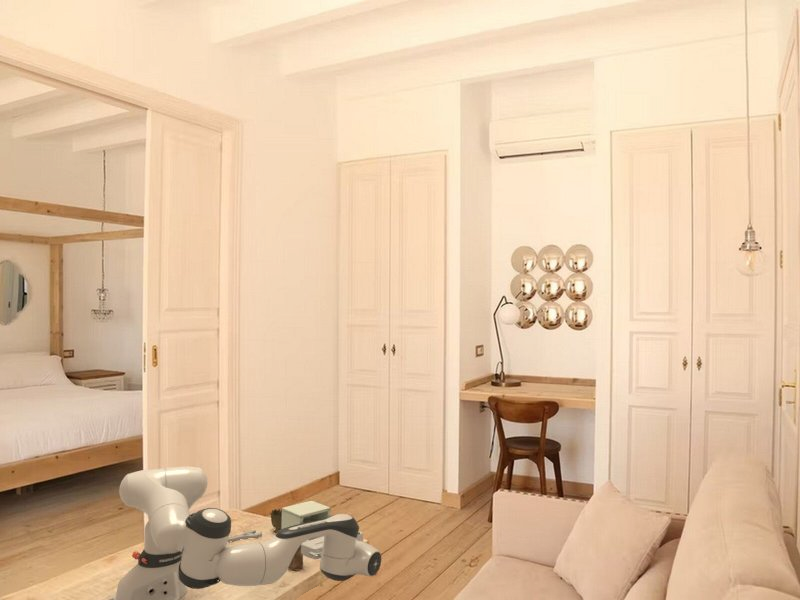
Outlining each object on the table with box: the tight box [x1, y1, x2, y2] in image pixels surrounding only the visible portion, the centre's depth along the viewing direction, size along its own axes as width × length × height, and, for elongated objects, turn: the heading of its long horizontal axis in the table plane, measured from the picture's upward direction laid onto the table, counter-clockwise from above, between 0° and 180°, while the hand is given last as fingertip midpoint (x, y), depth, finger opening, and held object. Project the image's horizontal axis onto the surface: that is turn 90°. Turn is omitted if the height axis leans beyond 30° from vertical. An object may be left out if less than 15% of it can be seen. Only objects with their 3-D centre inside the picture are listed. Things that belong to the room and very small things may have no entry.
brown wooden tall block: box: [287, 545, 304, 572], centre depth 223 cm, size 4×6×12 cm
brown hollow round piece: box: [270, 508, 282, 533], centre depth 258 cm, size 8×7×8 cm
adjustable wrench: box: [228, 529, 263, 543], centre depth 247 cm, size 25×6×2 cm, turn 122°
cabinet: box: [281, 500, 331, 540], centre depth 246 cm, size 15×13×13 cm
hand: (316, 536), depth 215 cm, fingers open, 8 cm apart
